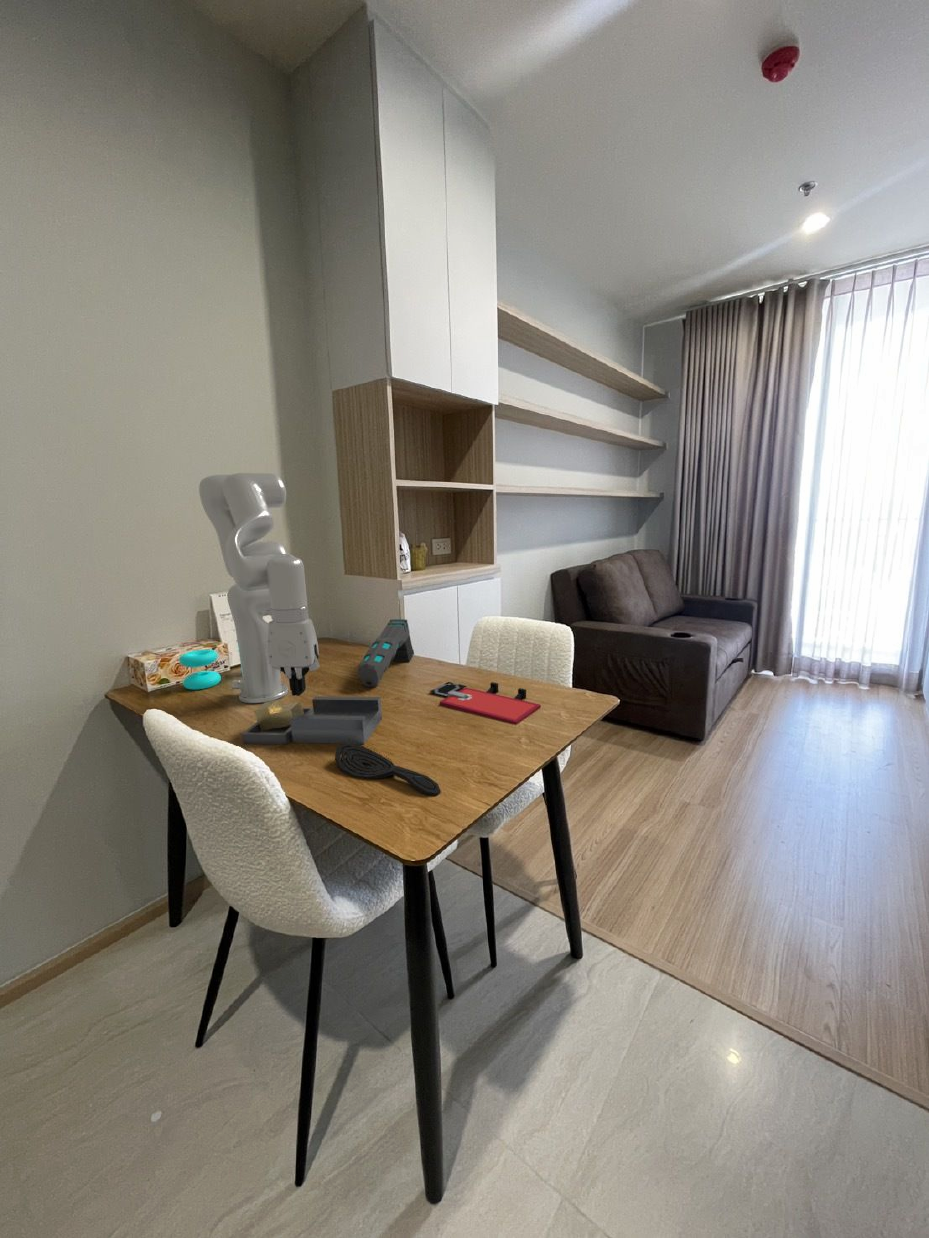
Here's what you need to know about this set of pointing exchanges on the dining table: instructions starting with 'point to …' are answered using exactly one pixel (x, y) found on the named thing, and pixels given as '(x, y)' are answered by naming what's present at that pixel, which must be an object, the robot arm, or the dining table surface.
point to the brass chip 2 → (286, 714)
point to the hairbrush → (379, 768)
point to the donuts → (204, 677)
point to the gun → (386, 652)
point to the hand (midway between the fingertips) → (298, 693)
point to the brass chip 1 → (266, 714)
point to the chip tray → (269, 734)
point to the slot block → (338, 720)
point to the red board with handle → (487, 702)
